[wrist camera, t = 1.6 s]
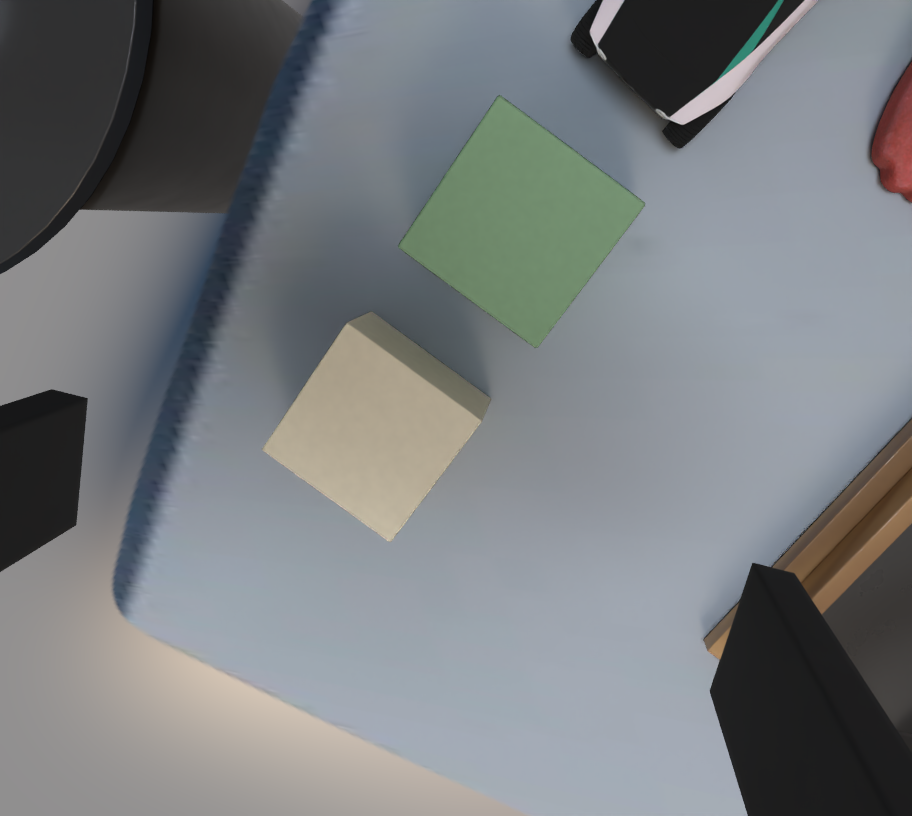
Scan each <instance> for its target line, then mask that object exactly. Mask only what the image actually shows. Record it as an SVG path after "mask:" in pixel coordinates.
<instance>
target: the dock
mask: <svg viewBox="0 0 912 816" xmlns="http://www.w3.org/2000/svg"><path fill="white" fill-rule="evenodd" d="M772 568H776V569H780V570H784V571H788V572H792V573H795V575H796V576H797V578H798V579H799V581H800V582H801V584H802V585H803V587H804V588H805V590H806V591H807V593H808V595H809V596H810V598H811V599H812V601H813V602H814V604H815V605H816V607H817V608H818V610H819V611H820V613H821V614H822V616H823V617H824V619H825V621H826V622H827V624H828V625H829V627H830V628H831V630H832V631H833V633H834V634H835V636H836V637H837V639H838V640H839V642H840V644H841V645H842V647H843V648H844V650H845V651H846V653H847V654H848V656H849V657H850V659H851V660H852V662H853V663H854V665H855V666H856V668H857V670H858V671H859V673H860V674H861V676H862V677H863V679H864V680H865V682H866V683H867V685H868V686H869V688H870V689H871V691H872V692H873V694H874V696H875V697H876V699H877V700H878V702H879V703H880V705H881V706H882V708H883V709H884V711H885V712H886V714H887V715H888V717H889V719H890V720H891V722H892V723H893V725H894V726H895V728H896V729H897V730H898V731H902V732H905V733H909V734H912V419H911V420H910V421H909V422H908V423H907V425H906V426H905V427H904V428H903V429H902V430H901V431H900V432H899V433H898V434H897V435H896V436H895V437H894V438H893V439H892V440H891V442H890V443H889V444H888V445H887V446H886V447H885V448H884V449H883V450H882V451H881V452H880V453H879V454H878V455H877V456H876V457H875V458H874V460H873V461H872V462H871V463H870V464H869V465H868V466H867V467H866V468H865V469H864V470H863V471H862V472H861V473H860V474H859V475H858V477H857V478H856V479H855V480H854V481H853V482H852V483H851V484H850V485H849V486H848V487H847V488H846V489H845V490H844V491H843V492H842V493H841V495H840V496H839V497H838V498H837V499H836V500H835V501H834V502H833V503H832V504H831V505H830V506H829V507H828V508H827V509H826V510H825V512H824V513H823V514H822V515H821V516H820V517H819V518H818V519H817V520H816V521H815V522H814V523H813V524H812V525H811V526H810V527H809V528H808V530H807V531H806V532H805V533H804V534H803V535H802V536H801V537H800V538H799V539H798V540H797V541H796V542H795V543H794V544H793V545H792V547H791V548H790V549H789V550H788V551H787V552H786V553H785V554H784V555H783V556H782V557H781V558H780V559H779V560H778V561H777V562H776V563H775V565H774V566H773V567H772ZM738 605H739V603H738V604H737V605H736V606H735V607H734V608H733V609H732V610H731V611H730V612H729V613H728V614H727V615H726V617H725V618H724V619H723V620H722V621H721V622H720V623H719V624H718V625H717V626H716V627H715V628H714V629H713V630H712V631H711V632H710V634H709V635H708V636H707V637H706V638H705V639H704V642H705V645H706V648H707V651H708V652H710V653H711V654H713V655H714V656H715V657H717V658H718V659H719V660H720V659H721V656H722V653H723V650H724V647H725V644H726V641H727V638H728V635H729V632H730V629H731V626H732V623H733V620H734V617H735V614H736V611H737V608H738Z"/></svg>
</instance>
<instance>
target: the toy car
mask: <svg viewBox="0 0 912 816" xmlns="http://www.w3.org/2000/svg"><path fill="white" fill-rule="evenodd" d="M817 1H818V0H597V1H595V3H594V4H593V5H592V6H591V8H590V9H589V10H588V11H587V13H586V14H585V15H584V17H582V19H581V21H580V22H579V24H578V25H577V26H576V28H575V30H574V31H573V33H572V35H571V42H572V43H573V45H574V46H575V47H576V49H577V50H579V52H581V53H582V54H583V55H585V56H586V57H588V58H590V57H592V56H593V55H594V54H595V53H596V52H598V53H599V55H598V56H599V57H600V58H601V59H602V60H603V61H604V62H605V63H606V64H607V65H608V66H609V67H610V68H611V69H612V70H613V71H615V72H616V73H617V74H618V76H619V77H620V78H621V79H622V81H623V82H624V83H625V84H626V85H627V86H628V87H629V88H630V89H631V90H632V91H633V92H634V93H635V94H636V95H638V96H639V97H640V98H641V99H642V100H644V101H645V102H646V103H647V104H648V105H649V107H650V108H651V109H652V110H653V111H654V112H655V113H656V114H657V115H658V116H659V117H660V118H661V119H662V118H665V119H669V120H671V121H670V122H669V124H668V125H667V126H666V128H665V129H664V130H663V131H662V132H663V133H664V135H665V136H666V138H667V139H668V140H670V142H671V143H672V144H673V145H674V146H676V147H677V148H682V147H683V146H685V145H686V144H687V143H688V142H689V141H690V140H692V139H693V138H694V137H695V136H696V135H697V134H698V133H699V132H700V131H701V130H702V129H703V128H704V127H705V126H706V125H707V124H708V123H709V122H710V121H711V120H712V119H713V118H714V117H715V116H716V115H717V113H718V112H719V111H720V110H721V109H722V108H723V107H724V106H725V105H726V104H727V103H728V101H729V100H730V99H731V98H732V97H733V95H734V94H735V92H736V91H737V90H738V89H739V88H740V87H741V86H742V84H743V83H744V82H745V81H746V80H747V79H748V78H749V77H750V75H751V74H752V73H753V71H754V70H755V68H756V67H757V66H758V65H759V63H760V62H761V61H762V60H763V58H764V57H765V56H766V55H767V54H768V53H769V52H770V51H771V50H772V48H773V47H774V46H775V45H776V44H777V43H778V42H779V41H780V40H781V39H782V38H783V37H784V36H785V35H786V34H787V33H788V32H789V31H790V30H791V29H792V28H793V26H794V25H795V24H796V23H797V22H798V21H799V20H800V19H801V18H802V17H803V16H804V15H805V14H806V13H807V12H808V11H809V10H810V9H811V8H812V7H813V5H814V4H815V3H816V2H817ZM768 26H769V27H768ZM766 29H767V30H766ZM764 32H765V33H764ZM763 34H764V35H763Z"/></svg>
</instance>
